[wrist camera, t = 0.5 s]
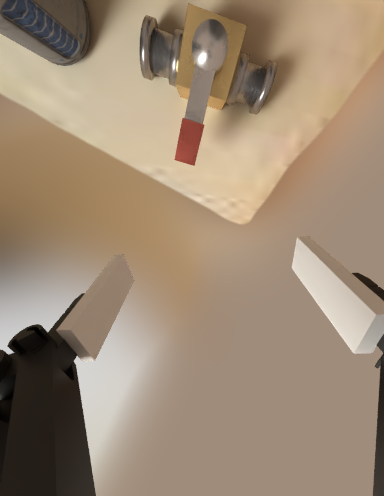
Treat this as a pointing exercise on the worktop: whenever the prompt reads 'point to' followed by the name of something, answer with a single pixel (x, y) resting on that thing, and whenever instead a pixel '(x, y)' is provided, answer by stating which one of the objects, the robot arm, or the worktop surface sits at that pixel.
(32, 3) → the beverage bottle
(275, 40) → the worktop surface
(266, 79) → the valve pipe
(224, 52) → the lever
